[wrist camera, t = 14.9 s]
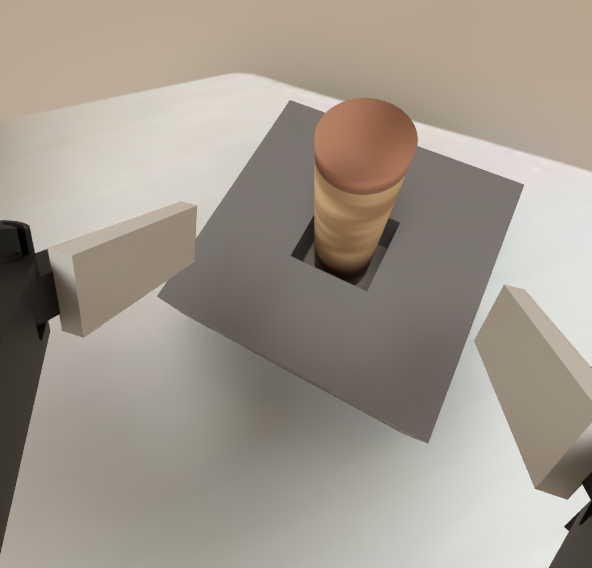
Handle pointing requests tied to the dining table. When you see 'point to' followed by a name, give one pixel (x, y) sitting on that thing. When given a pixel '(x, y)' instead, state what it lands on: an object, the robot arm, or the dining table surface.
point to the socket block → (344, 296)
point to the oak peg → (357, 181)
